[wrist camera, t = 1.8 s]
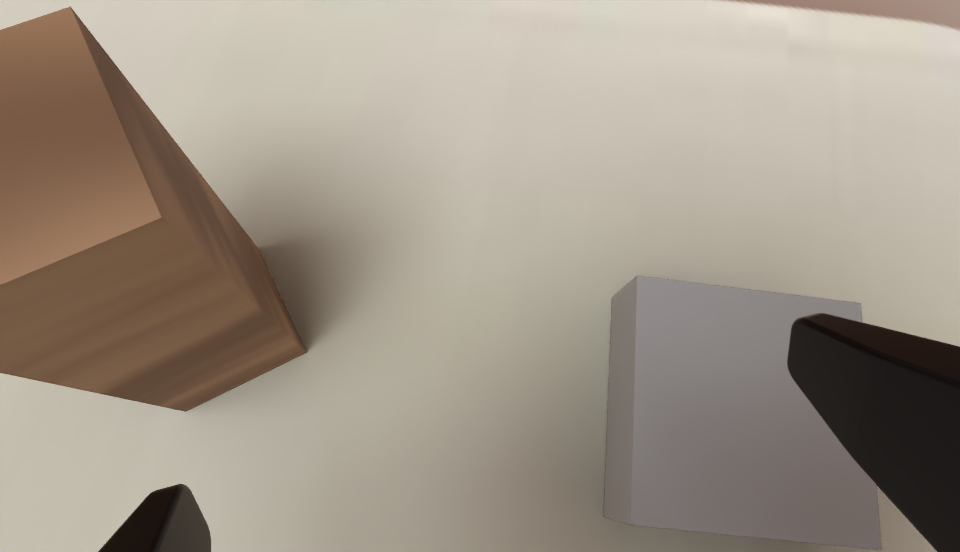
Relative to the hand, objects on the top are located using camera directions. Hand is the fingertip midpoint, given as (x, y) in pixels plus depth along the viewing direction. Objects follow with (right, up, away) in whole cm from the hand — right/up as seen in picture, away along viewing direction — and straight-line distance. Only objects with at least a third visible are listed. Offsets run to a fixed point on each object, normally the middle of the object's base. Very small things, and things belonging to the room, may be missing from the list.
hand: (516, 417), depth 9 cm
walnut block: (-10, 0, +14) cm, 17 cm away
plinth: (+8, -3, +14) cm, 17 cm away
